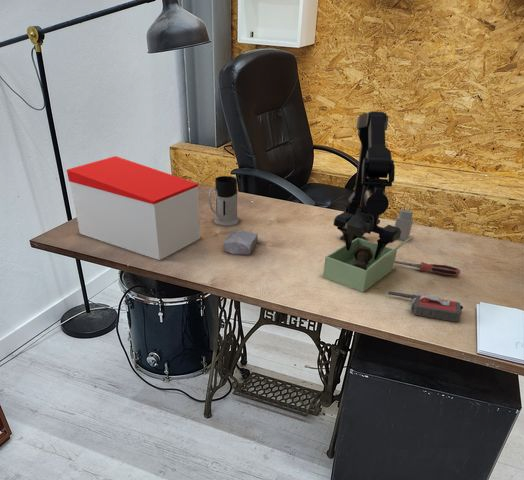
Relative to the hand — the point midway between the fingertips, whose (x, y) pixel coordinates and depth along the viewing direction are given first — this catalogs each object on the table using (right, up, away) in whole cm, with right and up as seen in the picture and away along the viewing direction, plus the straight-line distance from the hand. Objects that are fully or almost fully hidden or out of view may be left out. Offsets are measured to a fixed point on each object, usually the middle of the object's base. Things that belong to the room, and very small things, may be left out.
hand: (361, 254), depth 140 cm
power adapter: (+19, +11, +27) cm, 35 cm away
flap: (+7, 0, -6) cm, 9 cm away
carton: (0, -5, +4) cm, 6 cm away
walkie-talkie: (+14, -17, -12) cm, 25 cm away
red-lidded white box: (-71, +10, +20) cm, 74 cm away
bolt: (0, -5, +4) cm, 6 cm away
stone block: (-37, +6, +16) cm, 40 cm away
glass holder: (-44, +18, +32) cm, 57 cm away
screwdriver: (+19, -4, +7) cm, 20 cm away
